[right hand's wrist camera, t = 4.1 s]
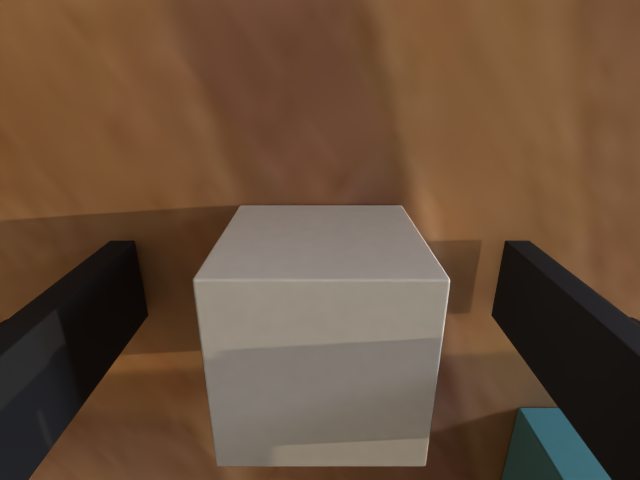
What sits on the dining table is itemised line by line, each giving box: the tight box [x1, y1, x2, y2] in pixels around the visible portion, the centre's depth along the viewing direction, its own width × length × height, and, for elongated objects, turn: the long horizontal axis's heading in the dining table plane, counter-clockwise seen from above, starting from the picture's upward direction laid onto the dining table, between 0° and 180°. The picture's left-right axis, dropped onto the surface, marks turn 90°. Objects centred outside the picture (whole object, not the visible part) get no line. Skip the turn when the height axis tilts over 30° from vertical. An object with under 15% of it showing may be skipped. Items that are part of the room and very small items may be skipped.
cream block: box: [193, 205, 450, 466], centre depth 11 cm, size 5×5×5 cm
